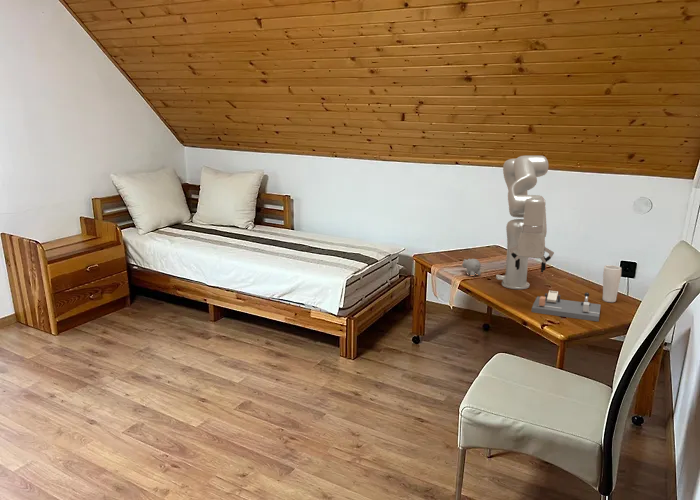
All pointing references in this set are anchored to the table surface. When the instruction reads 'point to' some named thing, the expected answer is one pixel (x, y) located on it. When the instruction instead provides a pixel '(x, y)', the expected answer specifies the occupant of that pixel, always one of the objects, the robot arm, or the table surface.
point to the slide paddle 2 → (586, 307)
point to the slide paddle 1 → (542, 301)
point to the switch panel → (567, 309)
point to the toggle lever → (586, 296)
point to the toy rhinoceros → (472, 266)
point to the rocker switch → (552, 296)
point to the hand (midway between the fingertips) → (529, 270)
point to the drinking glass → (611, 282)
